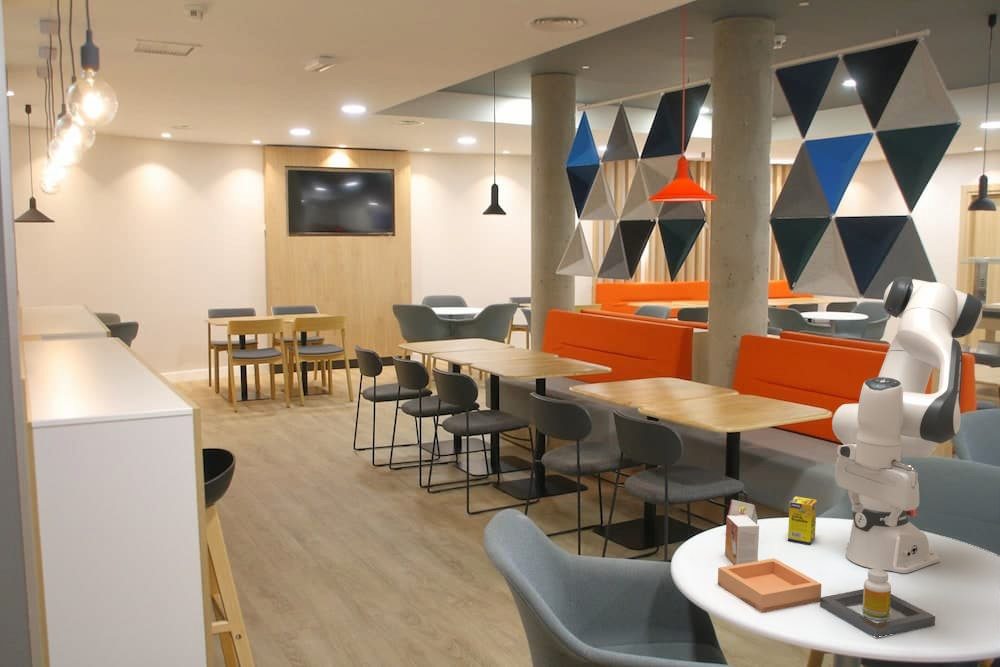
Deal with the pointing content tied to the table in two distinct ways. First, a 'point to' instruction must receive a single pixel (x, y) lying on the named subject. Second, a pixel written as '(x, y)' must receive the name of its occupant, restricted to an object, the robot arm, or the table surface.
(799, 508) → the supplement box
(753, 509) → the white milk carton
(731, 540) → the small box
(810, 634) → the table surface
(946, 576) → the table surface
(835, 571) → the table surface
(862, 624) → the dark grey square frame
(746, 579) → the tray
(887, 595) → the supplement bottle
